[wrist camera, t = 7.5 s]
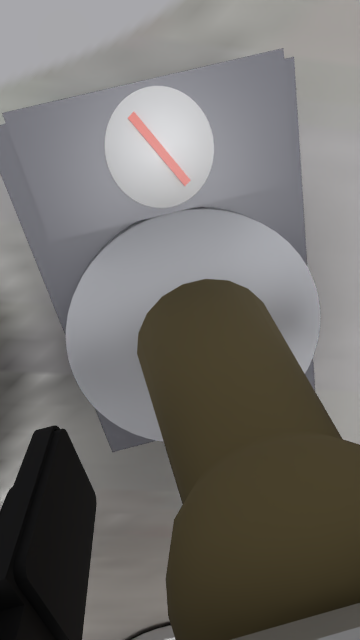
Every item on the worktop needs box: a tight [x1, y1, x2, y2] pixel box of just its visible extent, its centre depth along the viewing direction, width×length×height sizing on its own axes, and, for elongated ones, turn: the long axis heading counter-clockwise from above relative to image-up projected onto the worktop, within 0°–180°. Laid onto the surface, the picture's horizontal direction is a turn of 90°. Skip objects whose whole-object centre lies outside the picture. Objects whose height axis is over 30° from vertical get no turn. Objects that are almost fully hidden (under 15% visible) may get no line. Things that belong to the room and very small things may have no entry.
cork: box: [137, 279, 360, 640], centre depth 10 cm, size 6×6×11 cm
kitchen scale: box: [0, 48, 320, 452], centre depth 15 cm, size 15×11×5 cm
